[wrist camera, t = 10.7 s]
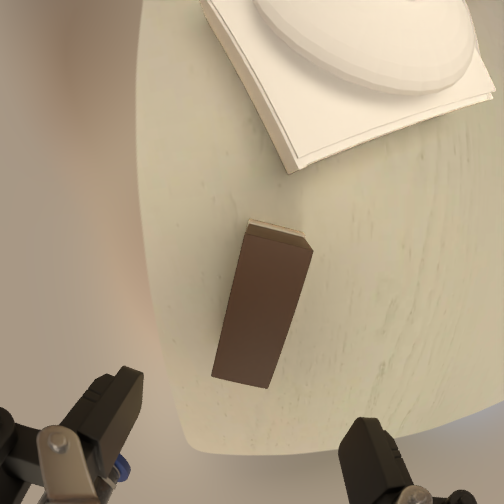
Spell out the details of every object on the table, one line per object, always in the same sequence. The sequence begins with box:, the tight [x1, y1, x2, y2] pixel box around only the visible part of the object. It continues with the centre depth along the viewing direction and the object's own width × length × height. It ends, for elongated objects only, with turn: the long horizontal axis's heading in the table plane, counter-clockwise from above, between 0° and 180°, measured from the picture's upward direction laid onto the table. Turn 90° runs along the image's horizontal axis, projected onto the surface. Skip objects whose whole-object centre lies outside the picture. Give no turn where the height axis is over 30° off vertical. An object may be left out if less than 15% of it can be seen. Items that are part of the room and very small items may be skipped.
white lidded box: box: [199, 0, 496, 174], centre depth 14 cm, size 18×18×16 cm
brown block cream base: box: [211, 219, 313, 389], centre depth 23 cm, size 12×5×6 cm, turn 166°
